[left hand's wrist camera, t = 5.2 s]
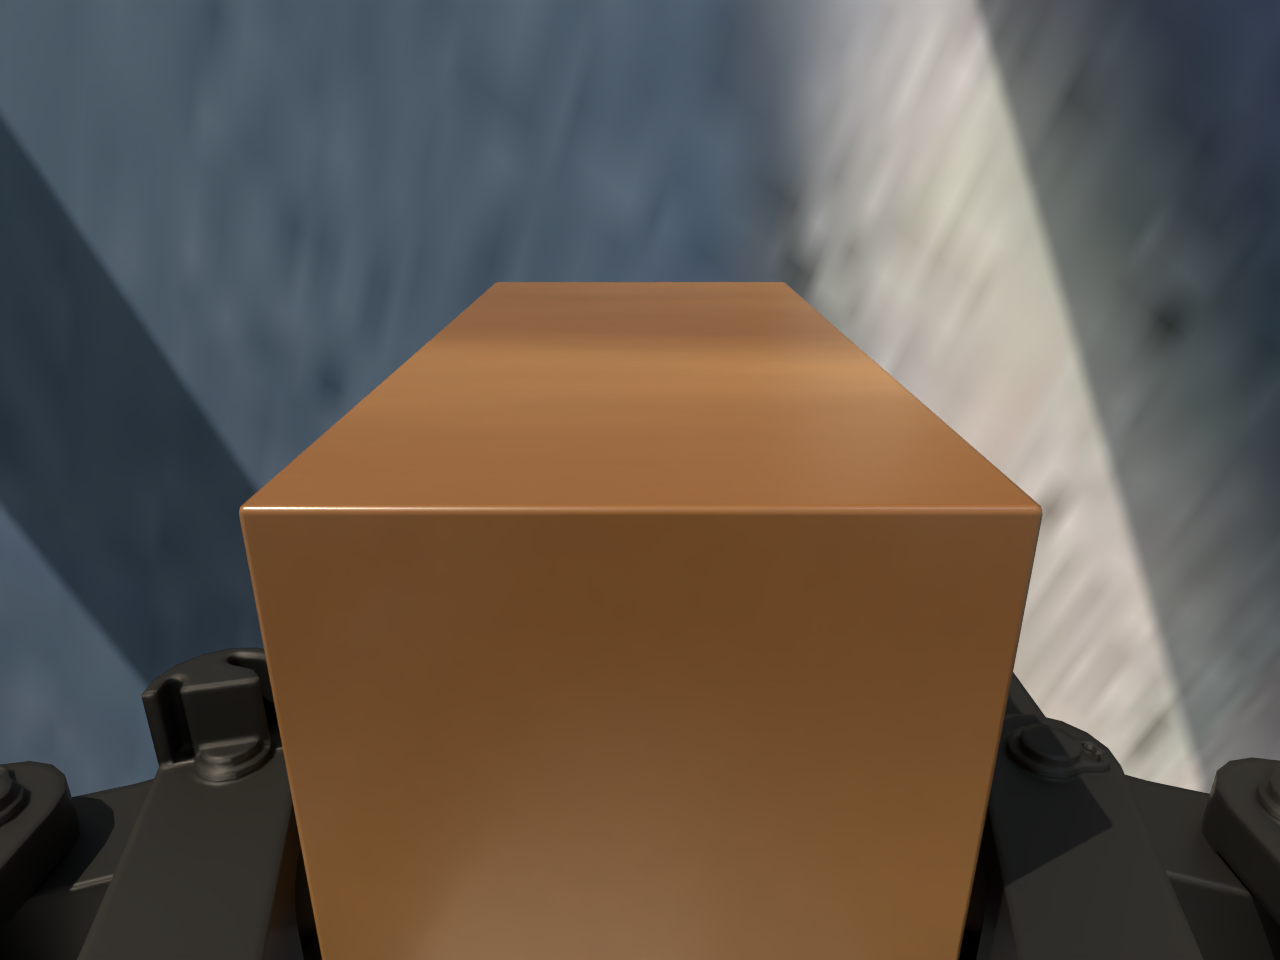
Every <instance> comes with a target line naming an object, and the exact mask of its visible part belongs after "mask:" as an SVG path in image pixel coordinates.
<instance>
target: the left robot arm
mask: <svg viewBox="0 0 1280 960" xmlns="http://www.w3.org/2000/svg"><path fill="white" fill-rule="evenodd" d="M141 696H142V700H143V704H144V708H145V712H146V716H147V720H148V724H149V728H150V732H151V736H152V740H153V744H154V748H155V752H156V755H157V759H158V763H159V769H158V771H157V773H156V776H155V778H154V779H151V780H148V781H144V782H140V783H137V784H133V785H128V786H123V787H119V788H114V789H109V790H104V791H100V792H95V793H90V794H85V795H81V796H76V797H71V794H70V790H69V787H68V784H67V780H66V777H65V774H63V773H62V772H61V771H60V770H58V769H57V768H56V767H55V766H53V765H51V764H45V763H38V762H32V761H27V762H18V763H10V764H1V765H0V960H322V956H321V950H320V945H319V940H318V934H317V929H316V924H315V918H314V913H313V908H312V902H311V897H310V891H309V886H308V881H307V875H306V870H305V865H304V859H303V854H302V849H301V843H300V838H299V833H298V827H297V822H296V817H295V811H294V806H293V801H292V795H291V790H290V784H289V779H288V774H287V768H286V763H285V758H284V752H283V747H282V742H281V736H280V731H279V726H278V720H277V715H276V710H275V704H274V699H273V694H272V688H271V683H270V677H269V672H268V667H267V661H266V656H265V651H264V649H260V648H231V649H227V650H222V651H217V652H212V653H208V654H203V655H201V656H198V657H196V658H193V659H191V660H188V661H186V662H183V663H181V664H178V665H176V666H174V667H173V668H171V669H170V670H168V671H167V672H165V673H164V674H162V675H160V676H159V677H157V678H156V679H155V680H154V681H153V682H152V683H151V684H150V685H149V687H148V688H147V689H146V690H145V691H144V692H143V694H142V695H141ZM959 960H1280V761H1277V760H1268V759H1260V758H1246V759H1240V760H1233V761H1229V762H1228V763H1227V764H1225V765H1224V766H1223V767H1222V768H1220V769H1219V770H1218V771H1217V773H1216V776H1215V780H1214V783H1213V786H1212V789H1211V793H1210V794H1208V793H1203V792H1198V791H1193V790H1188V789H1184V788H1179V787H1174V786H1169V785H1165V784H1160V783H1155V782H1150V781H1146V780H1142V779H1139V778H1135V777H1132V776H1128V775H1125V774H1124V772H1123V770H1122V767H1121V765H1120V764H1119V763H1118V761H1117V760H1116V758H1115V757H1114V756H1113V754H1112V753H1111V752H1110V750H1109V749H1108V748H1107V747H1106V746H1104V745H1103V744H1102V743H1100V742H1099V741H1098V740H1096V739H1095V738H1094V737H1092V736H1091V735H1090V734H1088V733H1087V732H1084V731H1082V730H1080V729H1078V728H1076V727H1073V726H1071V725H1069V724H1067V723H1065V722H1062V721H1059V720H1055V719H1051V718H1046V717H1045V716H1044V714H1043V713H1042V711H1041V710H1040V709H1039V707H1038V706H1037V705H1036V703H1035V702H1034V700H1033V699H1032V698H1031V696H1030V695H1029V693H1028V692H1027V691H1026V689H1025V688H1024V687H1023V685H1022V684H1021V682H1020V681H1019V680H1018V678H1017V677H1016V675H1015V674H1014V673H1013V674H1012V679H1011V685H1010V690H1009V695H1008V701H1007V706H1006V711H1005V717H1004V722H1003V727H1002V732H1001V738H1000V743H999V748H998V754H997V759H996V764H995V770H994V775H993V780H992V786H991V791H990V796H989V802H988V807H987V812H986V818H985V823H984V828H983V834H982V839H981V844H980V850H979V855H978V860H977V866H976V871H975V876H974V882H973V887H972V892H971V898H970V903H969V908H968V914H967V919H966V924H965V930H964V935H963V940H962V946H961V951H960V956H959Z"/></svg>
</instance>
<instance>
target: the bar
mask: <svg viewBox="0 0 1280 960" xmlns="http://www.w3.org/2000/svg"><path fill="white" fill-rule="evenodd" d="M239 517H240V522H241V528H242V533H243V538H244V544H245V549H246V554H247V560H248V565H249V570H250V576H251V581H252V587H253V592H254V597H255V603H256V608H257V613H258V619H259V624H260V629H261V635H262V640H263V645H264V651H265V656H266V661H267V667H268V672H269V677H270V683H271V688H272V694H273V699H274V704H275V710H276V715H277V720H278V726H279V731H280V736H281V742H282V747H283V752H284V758H285V763H286V768H287V774H288V779H289V784H290V790H291V795H292V801H293V806H294V811H295V817H296V822H297V827H298V833H299V838H300V843H301V849H302V854H303V859H304V865H305V870H306V875H307V881H308V886H309V891H310V897H311V902H312V908H313V913H314V918H315V924H316V929H317V934H318V940H319V945H320V950H321V956H322V960H959V956H960V951H961V946H962V940H963V935H964V930H965V924H966V919H967V914H968V908H969V903H970V898H971V892H972V887H973V882H974V876H975V871H976V866H977V860H978V855H979V850H980V844H981V839H982V834H983V828H984V823H985V818H986V812H987V807H988V802H989V796H990V791H991V786H992V780H993V775H994V770H995V764H996V759H997V754H998V748H999V743H1000V738H1001V732H1002V727H1003V722H1004V717H1005V711H1006V706H1007V701H1008V695H1009V690H1010V685H1011V679H1012V674H1013V669H1014V663H1015V658H1016V653H1017V647H1018V642H1019V637H1020V631H1021V626H1022V621H1023V615H1024V610H1025V605H1026V599H1027V594H1028V589H1029V583H1030V578H1031V573H1032V567H1033V562H1034V557H1035V551H1036V546H1037V541H1038V535H1039V530H1040V525H1041V519H1042V509H1041V506H1040V505H1039V504H1037V503H1036V502H1035V501H1034V500H1033V499H1032V498H1031V497H1029V496H1028V495H1027V494H1026V493H1025V492H1024V491H1023V490H1021V489H1020V488H1019V487H1018V486H1017V485H1016V484H1015V483H1013V482H1012V481H1011V480H1010V479H1009V478H1008V477H1007V476H1005V475H1004V474H1003V473H1002V472H1001V471H1000V470H999V469H997V468H996V467H995V466H994V465H993V464H992V463H990V462H989V461H988V460H987V459H986V458H985V457H984V456H982V455H981V454H980V453H979V452H978V451H977V450H976V449H974V448H973V447H972V446H971V445H970V444H969V443H968V442H966V441H965V440H964V439H963V438H962V437H961V436H960V435H958V434H957V433H956V432H955V431H954V430H953V429H952V428H950V427H949V426H948V425H947V424H946V423H945V422H944V421H942V420H941V419H940V418H939V417H938V416H937V415H935V414H934V413H933V412H932V411H931V410H930V409H929V408H927V407H926V406H925V405H924V404H923V403H922V402H921V401H919V400H918V399H917V398H916V397H915V396H914V395H913V394H911V393H910V392H909V391H908V390H907V389H906V388H905V387H903V386H902V385H901V384H900V383H899V382H898V381H897V380H895V379H894V378H893V377H892V376H891V375H890V374H888V373H887V372H886V371H885V370H884V369H883V368H882V367H880V366H879V365H878V364H877V363H876V362H875V361H874V360H872V359H871V358H870V357H869V356H868V355H867V354H866V353H864V352H863V351H862V350H861V349H860V348H859V347H858V346H856V345H855V344H854V343H853V342H852V341H851V340H850V339H848V338H847V337H846V336H845V335H844V334H843V333H842V332H840V331H839V330H838V329H837V328H836V327H835V326H833V325H832V324H831V323H830V322H829V321H828V320H827V319H825V318H824V317H823V316H822V315H821V314H820V313H819V312H817V311H816V310H815V309H814V308H813V307H812V306H811V305H809V304H808V303H807V302H806V301H805V300H804V299H803V298H801V297H800V296H799V295H798V294H797V293H796V292H795V291H793V290H792V289H791V288H790V287H789V286H788V285H786V284H785V283H783V282H497V283H495V284H494V285H493V286H492V287H491V288H489V289H488V290H487V291H486V292H485V293H484V294H483V295H481V296H480V297H479V298H478V299H477V300H476V301H475V302H473V303H472V304H471V305H470V306H469V307H468V308H467V309H465V310H464V311H463V312H462V313H461V314H460V315H459V316H457V317H456V318H455V319H454V320H453V321H452V322H451V323H449V324H448V325H447V326H446V327H445V328H444V329H443V330H441V331H440V332H439V333H438V334H437V335H436V336H435V337H433V338H432V339H431V340H430V341H429V342H428V343H427V344H425V345H424V346H423V347H422V348H421V349H420V350H419V351H417V352H416V353H415V354H414V355H413V356H412V357H411V358H409V359H408V360H407V361H406V362H405V363H404V364H403V365H401V366H400V367H399V368H398V369H397V370H396V371H395V372H393V373H392V374H391V375H390V376H389V377H388V378H387V379H385V380H384V381H383V382H382V383H381V384H380V385H379V386H377V387H376V388H375V389H374V390H373V391H372V392H371V393H370V394H368V395H367V396H366V397H365V398H364V399H363V400H362V401H360V402H359V403H358V404H357V405H356V406H355V407H354V408H352V409H351V410H350V411H349V412H348V413H347V414H346V415H344V416H343V417H342V418H341V419H340V420H339V421H338V422H336V423H335V424H334V425H333V426H332V427H331V428H330V429H328V430H327V431H326V432H325V433H324V434H323V435H322V436H320V437H319V438H318V439H317V440H316V441H315V442H314V443H312V444H311V445H310V446H309V447H308V448H307V449H306V450H304V451H303V452H302V453H301V454H300V455H299V456H298V457H296V458H295V459H294V460H293V461H292V462H291V463H290V464H288V465H287V466H286V467H285V468H284V469H283V470H282V471H280V472H279V473H278V474H277V475H276V476H275V477H274V478H272V479H271V480H270V481H269V482H268V483H267V484H266V485H264V486H263V487H262V488H261V489H260V490H259V491H258V492H256V493H255V494H254V495H253V496H252V497H251V498H250V499H248V500H247V501H246V502H245V503H244V504H243V505H242V506H241V507H240V511H239Z"/></svg>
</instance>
